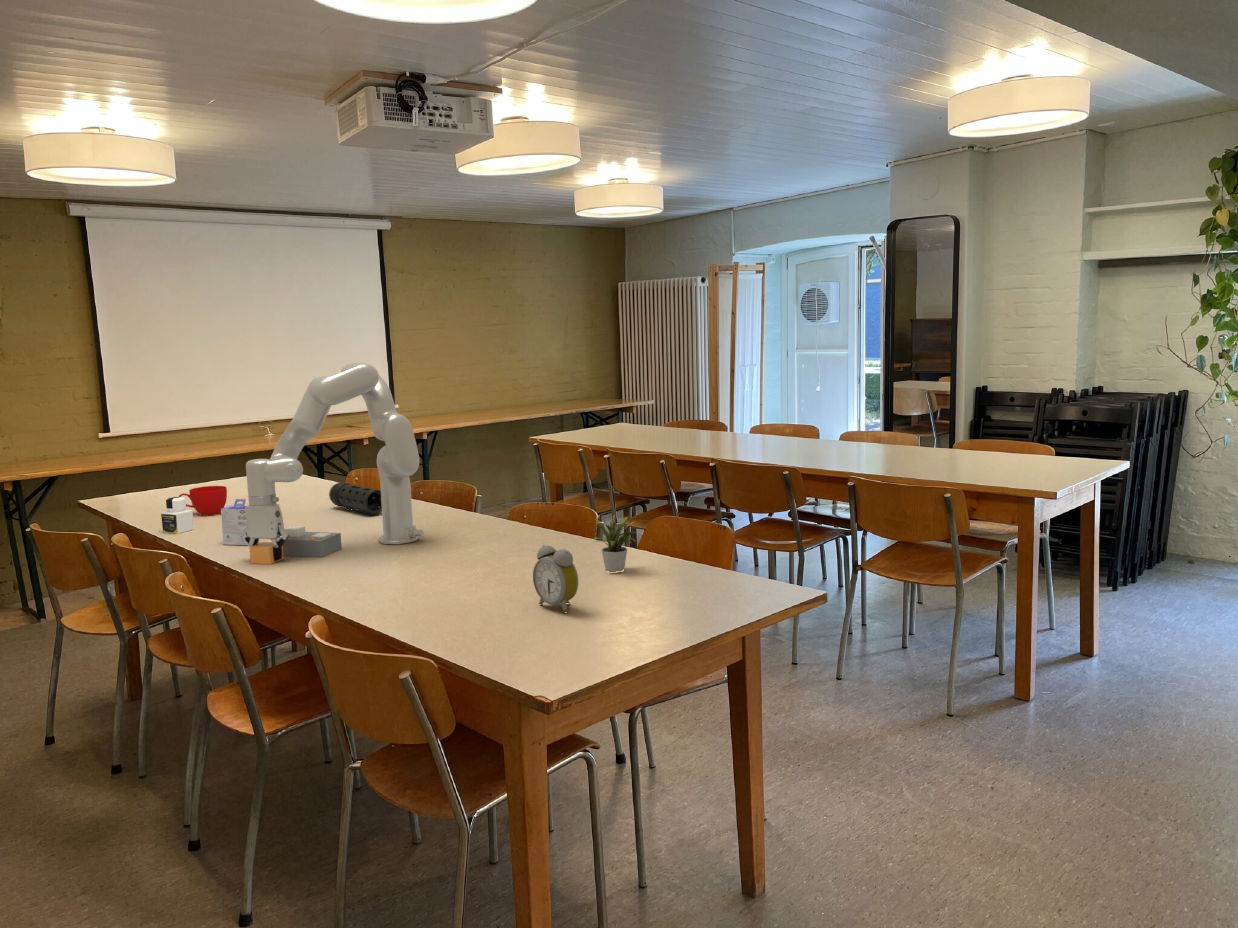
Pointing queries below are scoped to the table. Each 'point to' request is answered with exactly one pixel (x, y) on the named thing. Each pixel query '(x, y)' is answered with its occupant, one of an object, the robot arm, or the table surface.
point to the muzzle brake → (356, 498)
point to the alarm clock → (555, 576)
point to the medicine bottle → (177, 516)
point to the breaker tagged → (321, 535)
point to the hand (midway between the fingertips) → (267, 558)
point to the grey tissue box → (312, 545)
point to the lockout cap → (263, 553)
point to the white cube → (296, 531)
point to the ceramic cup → (207, 499)
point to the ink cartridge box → (234, 523)
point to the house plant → (614, 545)
